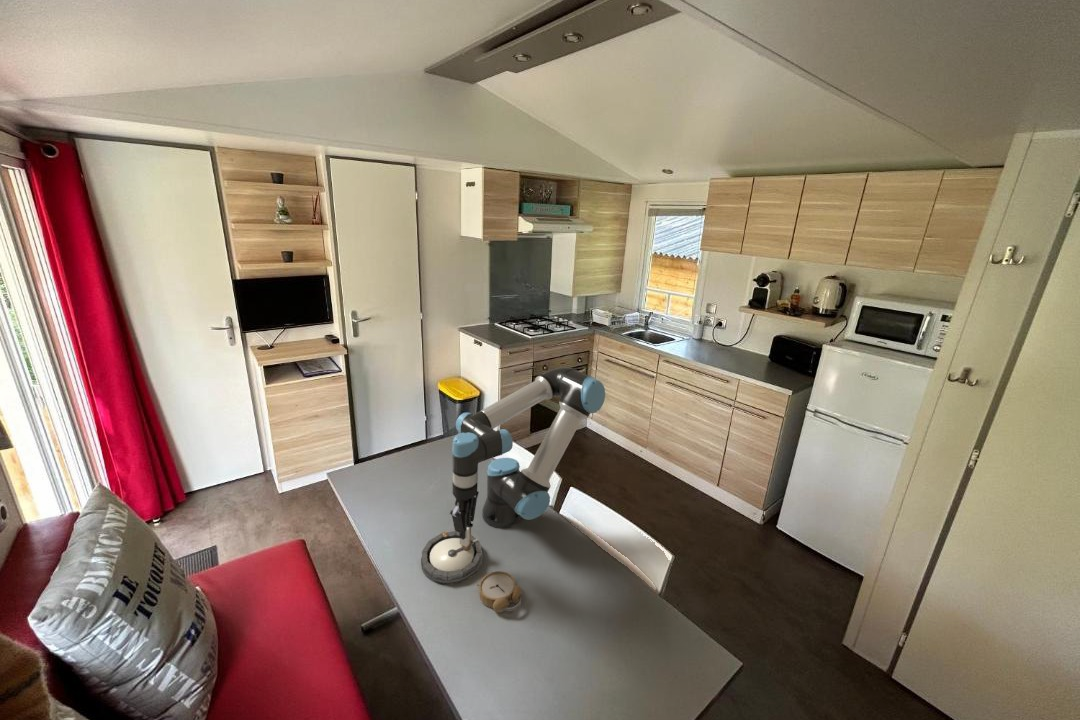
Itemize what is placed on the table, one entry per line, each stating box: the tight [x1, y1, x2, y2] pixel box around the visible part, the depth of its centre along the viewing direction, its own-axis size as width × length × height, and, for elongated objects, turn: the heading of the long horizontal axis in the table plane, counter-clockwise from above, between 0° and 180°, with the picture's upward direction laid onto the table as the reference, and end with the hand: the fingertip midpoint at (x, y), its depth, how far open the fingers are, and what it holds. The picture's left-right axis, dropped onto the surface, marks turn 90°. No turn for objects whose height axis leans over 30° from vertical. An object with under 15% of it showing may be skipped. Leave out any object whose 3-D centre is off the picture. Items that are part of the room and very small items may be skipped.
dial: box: [430, 527, 474, 572], centre depth 143 cm, size 14×14×10 cm
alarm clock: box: [476, 570, 524, 614], centre depth 132 cm, size 11×5×15 cm
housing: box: [420, 530, 483, 585], centre depth 145 cm, size 20×20×4 cm
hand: (464, 544), depth 140 cm, fingers closed
